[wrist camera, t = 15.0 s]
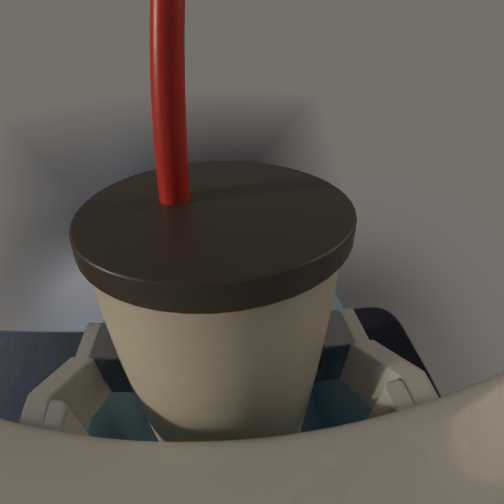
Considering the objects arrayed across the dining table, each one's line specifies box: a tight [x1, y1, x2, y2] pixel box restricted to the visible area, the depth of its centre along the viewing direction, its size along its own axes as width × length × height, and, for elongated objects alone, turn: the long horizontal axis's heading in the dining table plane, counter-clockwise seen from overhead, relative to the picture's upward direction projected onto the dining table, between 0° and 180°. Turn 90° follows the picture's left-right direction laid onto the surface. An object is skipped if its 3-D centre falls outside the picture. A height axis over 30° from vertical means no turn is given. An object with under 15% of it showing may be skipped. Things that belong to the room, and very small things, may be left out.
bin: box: [84, 293, 372, 441], centre depth 14 cm, size 14×16×9 cm
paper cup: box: [69, 0, 357, 442], centre depth 8 cm, size 6×6×17 cm
